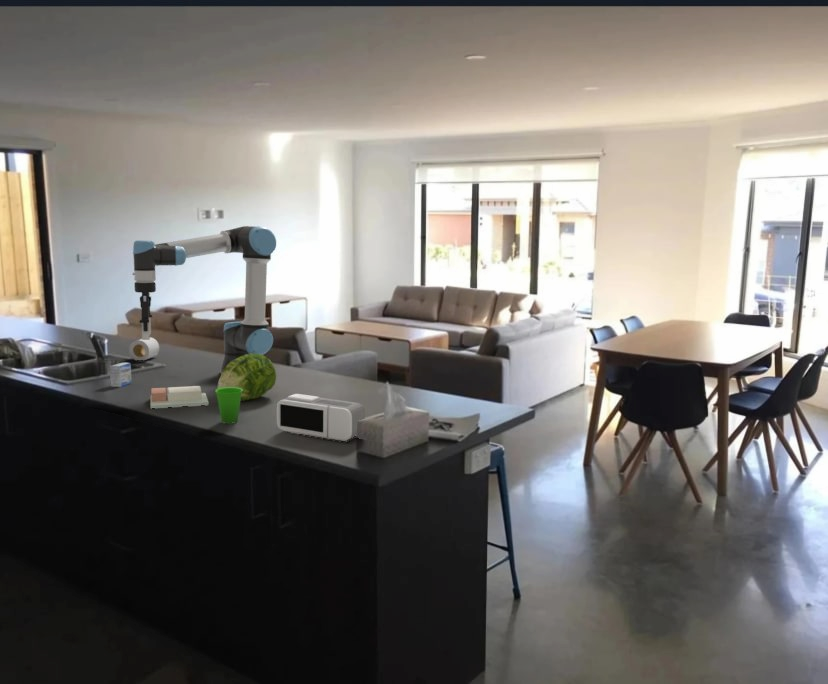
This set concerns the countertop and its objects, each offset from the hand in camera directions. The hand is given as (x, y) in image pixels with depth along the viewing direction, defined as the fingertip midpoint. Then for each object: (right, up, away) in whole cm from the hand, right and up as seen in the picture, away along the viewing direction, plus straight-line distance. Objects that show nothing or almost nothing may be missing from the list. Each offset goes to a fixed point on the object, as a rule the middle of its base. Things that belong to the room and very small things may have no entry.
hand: (146, 337), depth 281 cm
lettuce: (+38, -24, -2) cm, 45 cm away
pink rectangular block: (+8, -23, -9) cm, 26 cm away
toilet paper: (-27, -10, +72) cm, 77 cm away
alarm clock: (+72, -32, -45) cm, 91 cm away
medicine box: (-17, -20, +17) cm, 31 cm away
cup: (+40, -29, -33) cm, 60 cm away
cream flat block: (+16, -23, -6) cm, 28 cm away
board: (+15, -24, -9) cm, 30 cm away
